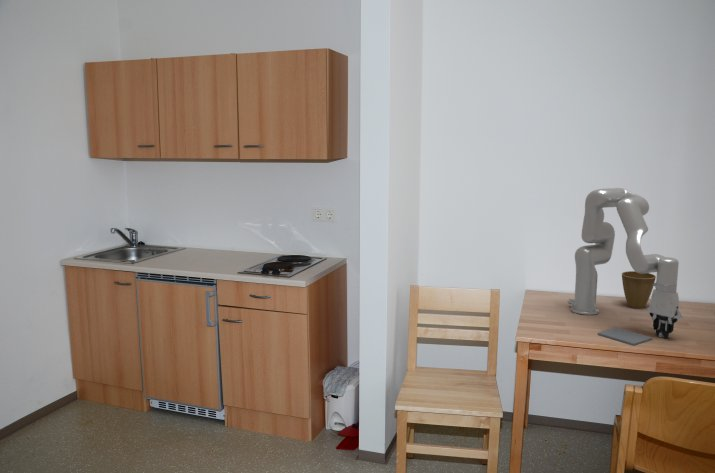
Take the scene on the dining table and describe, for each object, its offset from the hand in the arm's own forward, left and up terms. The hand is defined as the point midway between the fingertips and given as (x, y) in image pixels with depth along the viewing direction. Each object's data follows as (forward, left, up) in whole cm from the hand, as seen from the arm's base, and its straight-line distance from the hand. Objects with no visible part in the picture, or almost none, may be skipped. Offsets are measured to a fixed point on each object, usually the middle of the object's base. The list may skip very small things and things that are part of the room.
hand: (662, 330), depth 239 cm
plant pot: (-31, +33, -3) cm, 46 cm away
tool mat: (-8, -13, -3) cm, 16 cm away
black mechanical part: (-1, 0, -3) cm, 3 cm away
